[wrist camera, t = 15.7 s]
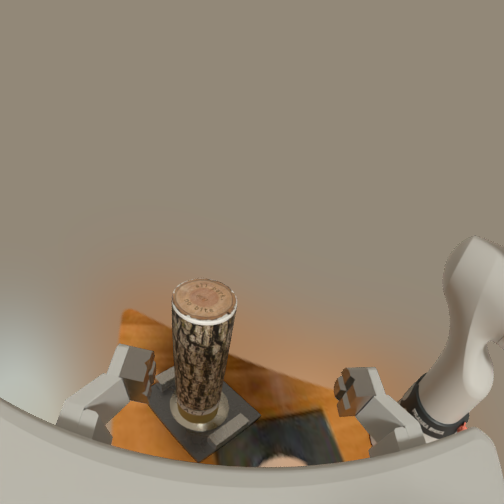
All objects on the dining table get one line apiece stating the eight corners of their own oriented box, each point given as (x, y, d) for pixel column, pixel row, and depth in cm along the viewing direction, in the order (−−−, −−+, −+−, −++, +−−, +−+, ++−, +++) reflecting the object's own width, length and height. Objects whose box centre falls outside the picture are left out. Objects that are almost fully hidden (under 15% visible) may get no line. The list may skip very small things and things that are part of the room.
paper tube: (194, 385, 45) (201, 270, 33) (226, 406, 43) (249, 297, 30) (169, 408, 40) (158, 297, 27) (201, 433, 37) (209, 332, 25)
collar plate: (260, 417, 43) (264, 408, 41) (198, 463, 34) (198, 457, 32) (200, 361, 52) (201, 350, 50) (140, 394, 42) (137, 385, 40)
